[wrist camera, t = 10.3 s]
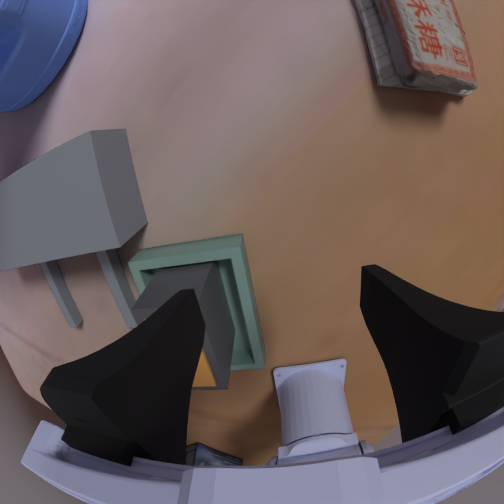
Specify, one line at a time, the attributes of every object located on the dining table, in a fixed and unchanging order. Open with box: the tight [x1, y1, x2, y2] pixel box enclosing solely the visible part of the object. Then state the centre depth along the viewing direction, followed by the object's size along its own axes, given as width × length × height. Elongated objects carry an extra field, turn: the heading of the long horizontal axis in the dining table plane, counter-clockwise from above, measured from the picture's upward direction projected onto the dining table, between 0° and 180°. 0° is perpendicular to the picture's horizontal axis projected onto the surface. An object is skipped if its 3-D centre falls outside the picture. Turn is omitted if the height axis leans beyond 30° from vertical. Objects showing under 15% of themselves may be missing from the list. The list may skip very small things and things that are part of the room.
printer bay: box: [0, 129, 148, 328], centre depth 20 cm, size 18×18×5 cm
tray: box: [128, 234, 265, 371], centre depth 23 cm, size 13×9×2 cm
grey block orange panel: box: [131, 260, 235, 390], centre depth 20 cm, size 8×4×7 cm, turn 9°
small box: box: [186, 442, 243, 466], centre depth 35 cm, size 11×6×10 cm, turn 47°
